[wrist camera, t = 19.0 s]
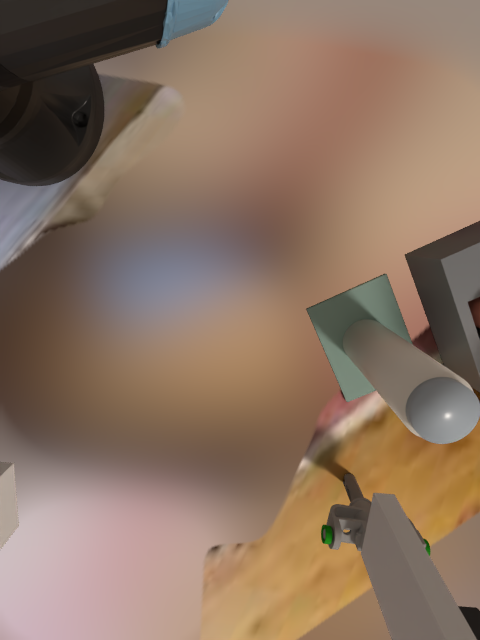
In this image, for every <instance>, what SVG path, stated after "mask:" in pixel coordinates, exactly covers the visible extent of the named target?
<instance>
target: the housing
mask: <svg viewBox="0 0 480 640" xmlns="http://www.w3.org/2000/svg"><path fill="white" fill-rule="evenodd" d="M405 257H406V260H407V263H408V266H409V268H410V271H411V274H412V277H413V280H414V283H415V285H416V288H417V291H418V294H419V296H420V299H421V302H422V305H423V308H424V311H425V314H426V316H427V319H428V322H429V325H430V328H431V330H432V333H433V336H434V339H435V342H436V345H437V347H438V350H439V353H440V356H441V359H442V361H443V364H444V366H445V367H446V368H448V369H449V370H451V371H452V372H454V373H455V374H457V375H458V376H460V377H461V378H463V379H464V380H465V381H467V382H468V384H469V385H470V386H471V387H472V388H474V389H475V390H477V391H478V392H480V328H477V327H475V323H474V320H473V317H472V314H471V311H470V308H469V305H468V302H469V301H471V300H473V299H476V298H478V297H480V221H479V222H476V223H474V224H472V225H470V226H467V227H465V228H463V229H461V230H459V231H456V232H454V233H452V234H450V235H447V236H445V237H443V238H441V239H438V240H436V241H434V242H432V243H430V244H427V245H425V246H423V247H421V248H418V249H416V250H414V251H412V252H410V253H407V254H405Z"/></svg>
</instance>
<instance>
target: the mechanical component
mask: <svg viewBox="0 0 480 640" xmlns="http://www.w3.org/2000/svg"><path fill="white" fill-rule="evenodd" d="M344 479H345V481H343V484H344V486H345V489H346V491H347V494H348V497H349V499H350V502H351V503H350V505H349V506H347V505H340V504H336V505H333V506H332V507H331V509H330V513H329V517H328V521H327V525H323V526H322V530H321V538H322V542H323V543H324V544H328V545H329V547H330V549H336V550H338V549H339V547H340V544H341V542H345V543H352V544H356V547H357V550H358V551H362V546H363V542H364V537H365V532H366V527H367V522H368V517H369V512H370V508H371V502H370V501H369V500H368V499H366V498H364V497H363V495H362V492H361V490H360V488H359V486H358V483H357V481H356V479H355V477H354V475H352V474H345V476H344ZM408 519H409V518H408ZM409 521H410V523H411V525H412V526H413V528H414V530H415V532H416V533H417V535H418V537H419V539H420V540H421V542H422V544H423V546H424V547H425V549H426V551H427V553H428V554H429V556H430V546H429V543H428V541H427V540H426V539H423V538H422V536H421V535H420V533H419V531H418V530H416V528H415V526H414V525H413V523H412V522H411V520H410V519H409ZM344 529H346V530H350V531H349V532H347V533H345V532H343V530H344Z"/></svg>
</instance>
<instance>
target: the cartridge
mask: <svg viewBox="0 0 480 640" xmlns="http://www.w3.org/2000/svg"><path fill="white" fill-rule="evenodd" d="M343 349H344V351H345V353H346V355H347V356H348V357H349V358H350V359H351V361H352V362H353V363H354V364H355V365H356V367H357V368H358V369H359V370H360V371H361V373H362V374H363V375H364V376H365V377H366V379H367V380H368V381H369V382H370V384H371V385H372V386H373V387H374V388H375V390H376V391H377V392H378V393H379V394H380V396H381V397H382V398H383V399H384V400H385V402H386V403H387V404H388V405H389V406H390V408H391V409H392V410H393V411H394V412H395V414H396V415H397V416H398V417H399V418H400V420H401V421H402V422H403V423H404V424H405V426H406V427H407V428H408V429H409V430H410V431H411V432H412V433H414V434H415V435H417V436H419V437H422V438H423V439H425V440H427V441H429V442H432V443H437V444H447V443H452V442H455V441H458V440H460V439H462V438H463V437H465V436H466V435H468V434H469V433H470V432H471V431H472V430H473V428H474V427H475V426H476V424H477V422H478V420H479V416H480V403H479V400H478V398H477V396H476V394H475V393H474V392H473V389H472V388H471V386H470V385H469V384H468V382H467V381H465V380H464V379H463V378H461V377H460V376H458V375H457V374H455V373H454V372H452V371H451V370H449V369H448V368H446V367H445V366H443V365H442V364H440V363H439V362H437V361H436V360H435V359H433V358H432V357H430V356H429V355H427V354H426V353H424V352H423V351H421V350H420V349H418V348H417V347H415V346H414V345H412V344H411V343H409V342H408V341H406V340H405V339H403V338H402V337H400V336H399V335H397V334H396V333H394V332H393V331H391V330H390V329H388V328H387V327H385V326H384V325H382V324H381V323H379V322H377V321H375V320H371V319H363V320H359V321H357V322H355V323H353V324H352V325H351V326H350V327H349V328H348V329H347V330H346V332H345V334H344V336H343Z"/></svg>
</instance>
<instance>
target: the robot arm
mask: <svg viewBox="0 0 480 640" xmlns="http://www.w3.org/2000/svg"><path fill="white" fill-rule="evenodd" d="M227 3H228V0H0V179H1V180H4V181H7V182H12V183H17V184H21V185H27V186H45V185H51V184H54V183H58V182H60V181H63V180H65V179H67V178H69V177H70V176H72V175H73V174H75V173H76V172H77V171H79V170H80V169H81V168H82V167H83V166H84V165H85V164H86V162H87V161H88V160H89V158H90V157H91V156H92V154H93V152H94V150H95V148H96V146H97V144H98V142H99V139H100V136H101V132H102V128H103V122H104V98H103V92H102V87H101V83H100V79H99V76H98V74H97V71H96V69H95V66H94V64H93V63H97V62H100V61H103V60H107V59H110V58H113V57H116V56H120V55H123V54H127V53H130V52H133V51H136V50H140V49H143V48H147V47H150V46H153V45H156V47H157V48H162V47H165V46H167V44H168V43H169V41H170V40H172V39H175V38H177V37H180V36H183V35H186V34H188V33H191V32H194V31H197V30H200V29H202V28H205V27H207V26H210V25H211V24H213V23H214V22H215V21H216V20H217V19H218V18H219V17H220V16H221V14H222V12H223V11H224V9H225V7H226V5H227ZM18 526H19V522H18V510H17V497H16V485H15V473H14V463H6V462H0V550H1V548H2V547H3V546H4V544H5V543H6V542H7V541H8V539H9V538H10V537H11V535H12V534H13V533H14V532H15V530H16V529H17V528H18ZM361 555H362V558H363V561H364V564H365V566H366V569H367V572H368V575H369V578H370V580H371V583H372V586H373V589H374V591H375V594H376V597H377V600H378V602H379V605H380V608H381V611H382V613H383V616H384V619H385V622H386V625H387V628H388V630H389V633H390V636H391V638H392V640H480V611H479V610H478V609H477V608H472V607H459V606H458V605H457V604H456V602H455V600H454V598H453V597H452V595H451V593H450V591H449V590H448V588H447V586H446V584H445V583H444V581H443V579H442V577H441V575H440V574H439V572H438V570H437V568H436V567H435V565H434V563H433V561H432V560H431V558H430V556H429V554H428V553H427V551H426V549H425V547H424V546H423V544H422V542H421V540H420V539H419V537H418V535H417V533H416V532H415V530H414V528H413V526H412V525H411V523H410V521H409V519H408V518H407V516H406V514H405V512H404V511H403V509H402V507H401V505H400V504H399V502H398V500H397V498H396V496H395V495H394V494H381V493H373V498H372V503H371V508H370V512H369V517H368V522H367V527H366V532H365V537H364V542H363V546H362V551H361Z"/></svg>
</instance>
